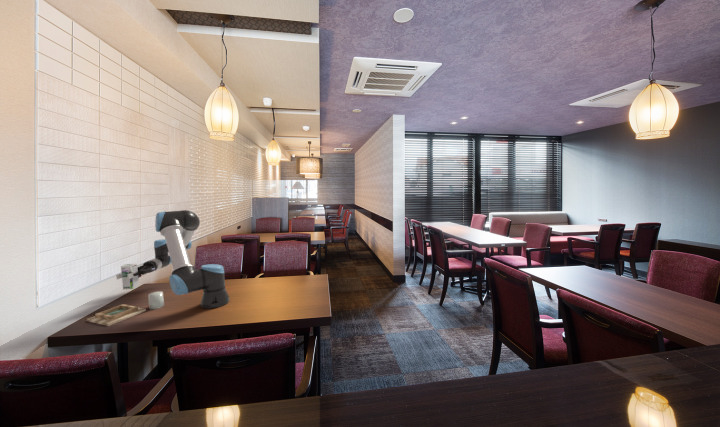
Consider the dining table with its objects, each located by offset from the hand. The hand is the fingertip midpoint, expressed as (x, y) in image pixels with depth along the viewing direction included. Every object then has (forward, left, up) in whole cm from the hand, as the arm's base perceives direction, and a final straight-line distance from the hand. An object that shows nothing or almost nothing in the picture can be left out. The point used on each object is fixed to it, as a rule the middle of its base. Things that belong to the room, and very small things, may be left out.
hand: (122, 276), depth 164 cm
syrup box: (+2, -5, -9) cm, 10 cm away
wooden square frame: (-10, +10, -18) cm, 23 cm away
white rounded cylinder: (-19, -5, -18) cm, 27 cm away
